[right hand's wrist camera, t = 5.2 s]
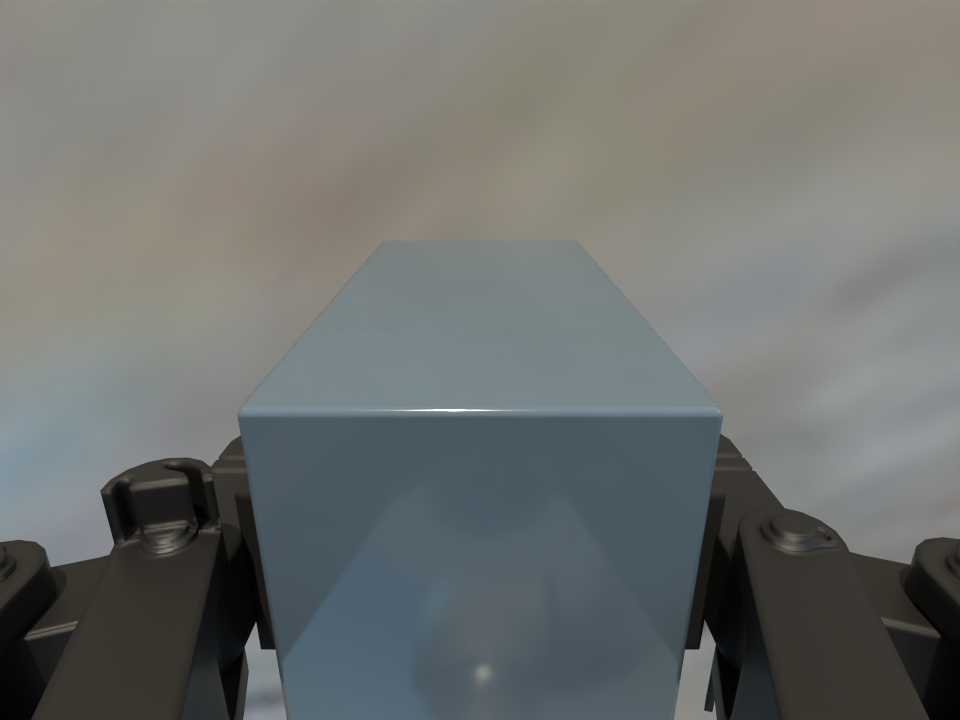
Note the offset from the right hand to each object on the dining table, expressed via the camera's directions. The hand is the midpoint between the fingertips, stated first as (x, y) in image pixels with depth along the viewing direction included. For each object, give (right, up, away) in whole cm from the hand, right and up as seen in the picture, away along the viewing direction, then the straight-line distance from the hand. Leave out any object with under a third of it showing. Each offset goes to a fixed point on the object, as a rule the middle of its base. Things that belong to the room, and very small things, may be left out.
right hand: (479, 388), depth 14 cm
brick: (0, +1, +2) cm, 2 cm away
